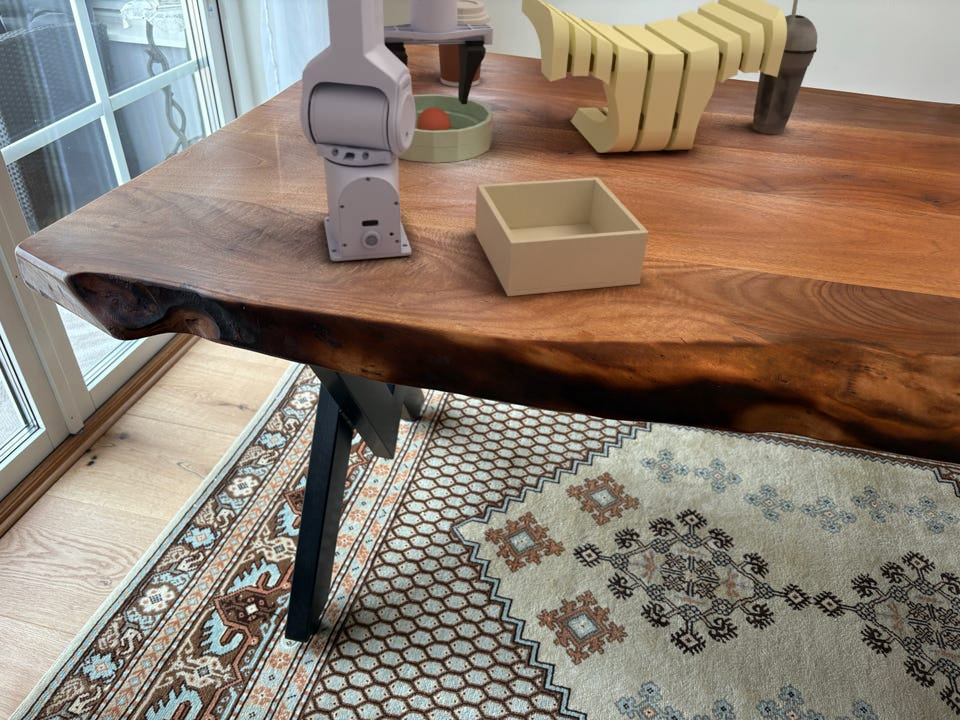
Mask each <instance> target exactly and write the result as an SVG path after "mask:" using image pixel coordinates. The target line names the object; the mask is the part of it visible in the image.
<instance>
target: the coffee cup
mask: <svg viewBox="0 0 960 720" xmlns="http://www.w3.org/2000/svg"><path fill="white" fill-rule="evenodd" d="M490 21H491V14H489V13H488V12H487V10H486V9H485V3H484V2H482V1H480V0H458V9H457V23H459V24H475V25H487V24H489V23H490ZM437 46H438V57H439V72H440V83H442V84H443V85H446V86H450V87H455V88H456V87H458V88H459V74H460V67H459V47H458V44H437ZM481 69H482V63H481V64H480V66H479V68H478V70H477V72H476V74H475V77H474V79H473V82H472V85H471V87H473V86H477V85H479V83H480V82H481V81H480V80H481V79H480V77H481V71H482V70H481Z"/></svg>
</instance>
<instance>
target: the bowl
mask: <svg viewBox="0 0 960 720" xmlns="http://www.w3.org/2000/svg"><path fill="white" fill-rule="evenodd" d="M413 97H414V101H415V110H416V119H415V129H414V135H413V139H412V142H411V145H410V147H409V148H408V149H407V150H406V151H405V152H404V153H403V154H402V155H398V159H401V160H406V161H409V162H419V163H428V164H429V163H431V164H433V163H434V164H438V163H439V164H440V163H455V162H463V161H465V160H470V159H475V158H477V157H479V156H481V155H482V154H484V153H486V152H488V151H489V150H490V148H491V145H492V143H493V127H494V125H493V124H494V122H493V121H494V112H492V109H490V107H489V106H488V105H486V104H484V103H481V102H479V101H477V100H475V99H471V98H468V101H467V104H463V105H462V104H461V102H460V101H459V97H458V95H448V94H447V95H446V94H438V93H437V94H436V93H432V94H431V93H429V94H413ZM431 107H436V108H439V109H441V110H443V111H444V112H445V113H446V114H447V115H448V117H449V119H450V130H439V131H430V130H419V129H417V120H418V117H419V115H420V114H421V113H422V112H423V111H424V110H425V109H427V108H431Z"/></svg>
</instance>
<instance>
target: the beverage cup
mask: <svg viewBox="0 0 960 720" xmlns="http://www.w3.org/2000/svg"><path fill="white" fill-rule="evenodd" d="M798 3H799V0H793V2H792V9H791V14H788V15H785V18H786V23H787V38H786V44H785V48H784V52H783V56H782V60H781V64H780V68H779V72H778V76H777V77H775V76H772V75H768V74H764V73H763V72H761V71H759V79H758V84H757V91H756V98H755V104H754V110H753V116H752V117H753V120H752V126H751V128H752V129H753V130H754V131H755V132H759V133H761V134H766V135H781V134H783V133H784V132H785V128H786V126H787V123H788V122H789V120H790V117H791V115H792V111H793V109H794V106H795V103H796V100H797V98H798V95H799V93H800V89H801V86H802V85H803V84H802V83H803V81H804V79H805V76H806V73H807V70H808V67H810V65H811V63H812V60H813V58H814V55H815V53H817V49H818V47H817V45H818V32H817V29H816V27H815V25H814V23H813V22H812V21H811V20H810V19H809V18H808V17H806V16H805V15H801V14H797V9H798Z"/></svg>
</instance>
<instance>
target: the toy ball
mask: <svg viewBox="0 0 960 720" xmlns="http://www.w3.org/2000/svg"><path fill="white" fill-rule="evenodd" d="M417 129H419V130H430V131H439V130H450V119H449V117H448V115H447V114H446V113H445V112H444V111H443V110H441V109H439V108H436V107H431V108H427V109H425V110H424V111H423V112H422V113H421V114H420V115H419V117H418V120H417Z"/></svg>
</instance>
